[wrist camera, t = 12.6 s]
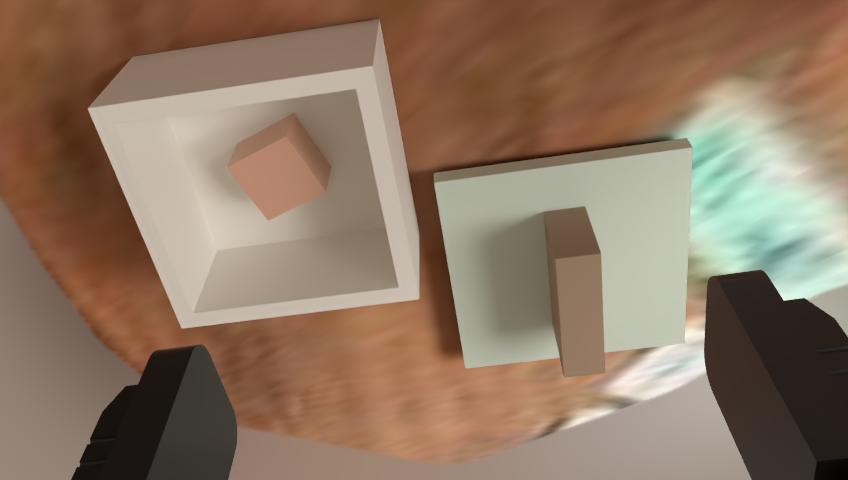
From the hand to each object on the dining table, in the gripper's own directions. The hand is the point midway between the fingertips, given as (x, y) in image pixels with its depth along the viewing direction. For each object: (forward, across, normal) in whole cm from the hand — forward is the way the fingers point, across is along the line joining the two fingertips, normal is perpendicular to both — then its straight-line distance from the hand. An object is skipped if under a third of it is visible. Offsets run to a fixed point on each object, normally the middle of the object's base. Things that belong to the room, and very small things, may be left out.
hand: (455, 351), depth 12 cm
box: (+32, +10, +11) cm, 36 cm away
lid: (+31, -5, +21) cm, 38 cm away
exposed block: (+32, +10, +11) cm, 35 cm away
